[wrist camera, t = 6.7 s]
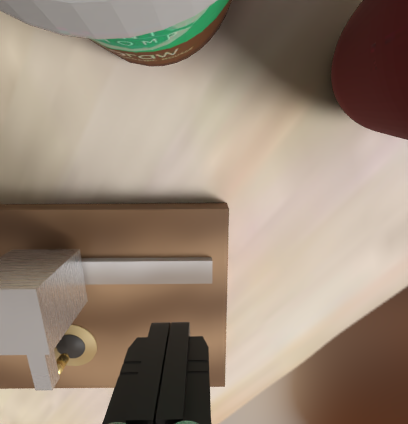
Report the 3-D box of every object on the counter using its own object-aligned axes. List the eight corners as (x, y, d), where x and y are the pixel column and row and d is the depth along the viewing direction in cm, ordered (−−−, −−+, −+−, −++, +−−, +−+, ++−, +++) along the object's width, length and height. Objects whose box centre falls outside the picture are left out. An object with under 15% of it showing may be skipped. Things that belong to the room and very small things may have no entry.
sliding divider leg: (12, 249, 15) (-56, 289, 11) (79, 249, 15) (35, 289, 11) (38, 358, 18) (-11, 424, 14) (96, 357, 18) (65, 423, 14)
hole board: (-138, 205, 17) (-339, 245, 11) (226, 202, 17) (240, 241, 11) (-72, 371, 21) (-190, 472, 15) (223, 369, 21) (232, 468, 15)
